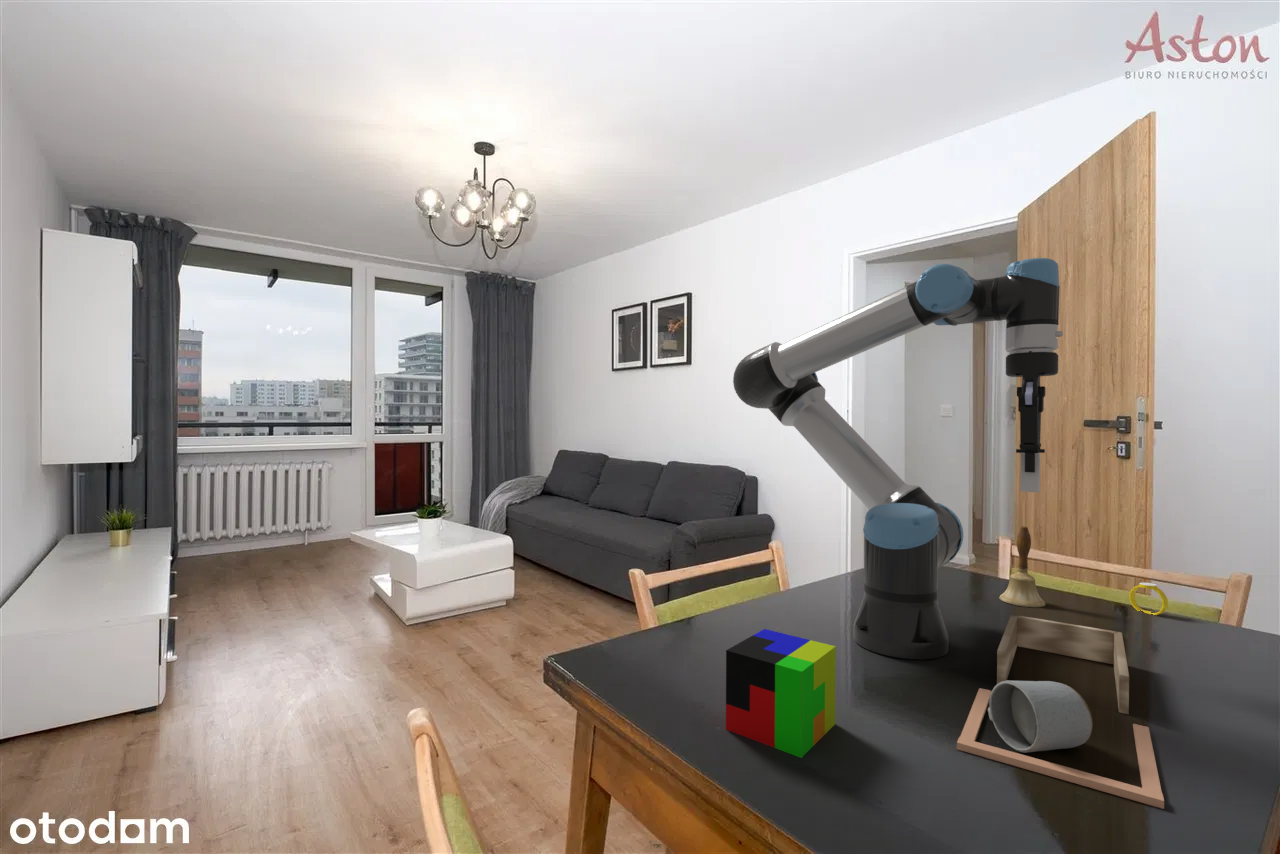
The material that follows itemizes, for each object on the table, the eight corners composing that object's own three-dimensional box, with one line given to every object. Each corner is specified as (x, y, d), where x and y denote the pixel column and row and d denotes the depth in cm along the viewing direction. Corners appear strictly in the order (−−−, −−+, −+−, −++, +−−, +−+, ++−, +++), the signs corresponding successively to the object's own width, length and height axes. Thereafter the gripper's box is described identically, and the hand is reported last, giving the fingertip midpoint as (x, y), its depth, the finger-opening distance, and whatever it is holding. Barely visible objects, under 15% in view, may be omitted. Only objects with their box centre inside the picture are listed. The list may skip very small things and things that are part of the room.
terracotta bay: (956, 749, 72) (956, 742, 72) (979, 691, 87) (979, 685, 87) (1163, 809, 61) (1164, 801, 61) (1148, 731, 76) (1148, 724, 76)
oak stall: (996, 684, 89) (997, 650, 89) (1010, 643, 106) (1011, 614, 105) (1128, 714, 80) (1129, 676, 80) (1121, 663, 97) (1121, 632, 97)
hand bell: (1044, 599, 131) (1045, 525, 131) (1046, 610, 124) (1046, 531, 124) (999, 593, 135) (1000, 522, 135) (998, 603, 128) (999, 527, 128)
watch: (1127, 611, 124) (1125, 581, 124) (1135, 609, 125) (1133, 580, 126) (1163, 618, 119) (1161, 587, 119) (1170, 616, 120) (1168, 585, 120)
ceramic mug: (1099, 758, 70) (1099, 691, 70) (1038, 766, 68) (1037, 697, 68) (1023, 715, 80) (1023, 657, 80) (969, 721, 79) (969, 661, 79)
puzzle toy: (764, 701, 84) (764, 628, 84) (835, 724, 78) (835, 646, 77) (725, 730, 76) (726, 650, 76) (801, 758, 70) (801, 671, 70)
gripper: (1056, 347, 96) (1055, 497, 97) (1059, 354, 107) (1058, 489, 107) (1001, 350, 101) (1000, 493, 101) (1009, 357, 111) (1008, 486, 112)
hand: (1030, 491), depth 104 cm, fingers closed
